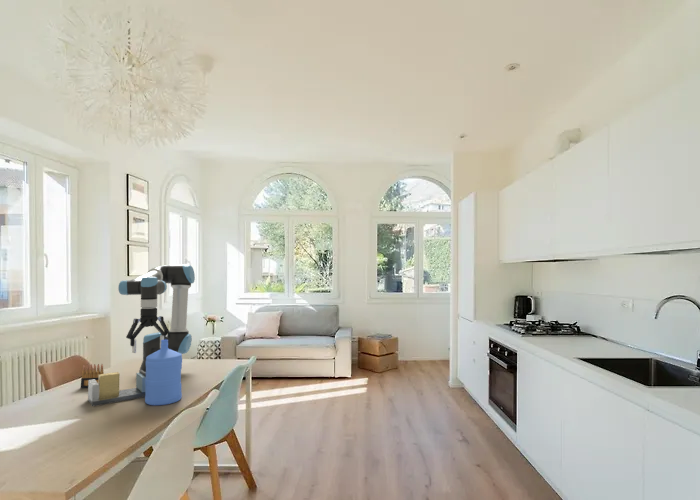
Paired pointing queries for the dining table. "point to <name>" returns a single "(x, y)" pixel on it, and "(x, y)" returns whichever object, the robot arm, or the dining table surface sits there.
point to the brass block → (108, 384)
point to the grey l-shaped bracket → (123, 395)
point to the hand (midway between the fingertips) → (148, 350)
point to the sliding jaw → (141, 381)
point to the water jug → (163, 376)
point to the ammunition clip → (90, 374)
